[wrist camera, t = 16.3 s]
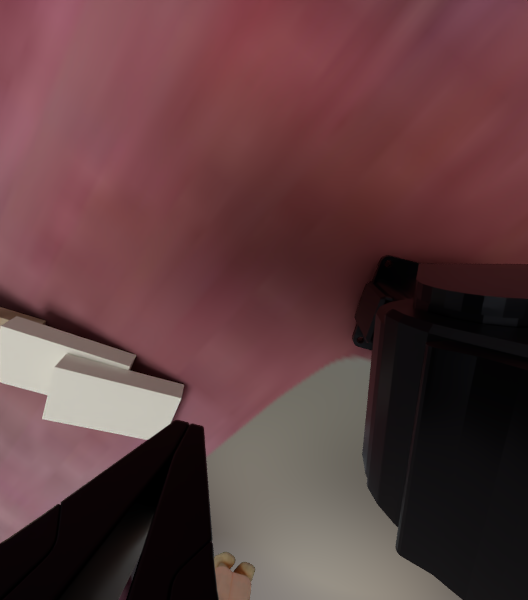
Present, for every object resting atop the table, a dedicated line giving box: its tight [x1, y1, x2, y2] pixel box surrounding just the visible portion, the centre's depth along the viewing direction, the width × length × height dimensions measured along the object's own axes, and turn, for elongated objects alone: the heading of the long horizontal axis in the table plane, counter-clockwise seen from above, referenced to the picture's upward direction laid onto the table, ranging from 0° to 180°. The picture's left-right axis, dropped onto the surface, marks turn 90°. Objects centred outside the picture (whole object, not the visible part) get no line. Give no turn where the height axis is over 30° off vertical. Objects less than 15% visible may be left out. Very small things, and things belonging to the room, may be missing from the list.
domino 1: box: [0, 316, 136, 395], centre depth 22 cm, size 2×5×9 cm
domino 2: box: [42, 354, 184, 440], centre depth 22 cm, size 2×5×9 cm
